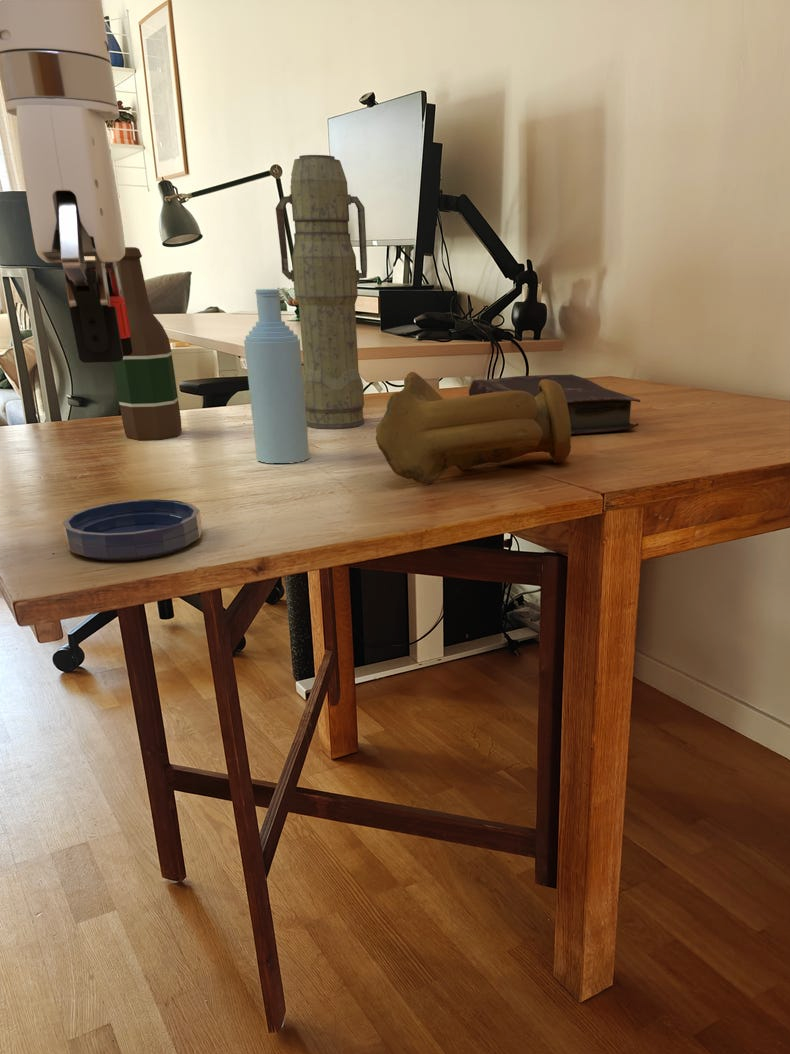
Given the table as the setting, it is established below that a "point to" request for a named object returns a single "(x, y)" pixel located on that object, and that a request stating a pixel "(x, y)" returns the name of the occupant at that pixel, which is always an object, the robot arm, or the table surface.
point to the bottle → (276, 385)
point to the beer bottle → (145, 363)
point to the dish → (132, 529)
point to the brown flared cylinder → (470, 428)
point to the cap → (121, 315)
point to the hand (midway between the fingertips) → (107, 355)
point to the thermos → (325, 289)
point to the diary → (572, 400)
